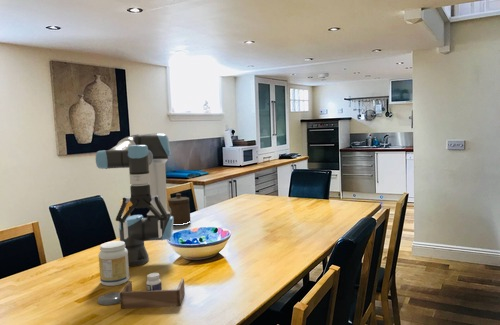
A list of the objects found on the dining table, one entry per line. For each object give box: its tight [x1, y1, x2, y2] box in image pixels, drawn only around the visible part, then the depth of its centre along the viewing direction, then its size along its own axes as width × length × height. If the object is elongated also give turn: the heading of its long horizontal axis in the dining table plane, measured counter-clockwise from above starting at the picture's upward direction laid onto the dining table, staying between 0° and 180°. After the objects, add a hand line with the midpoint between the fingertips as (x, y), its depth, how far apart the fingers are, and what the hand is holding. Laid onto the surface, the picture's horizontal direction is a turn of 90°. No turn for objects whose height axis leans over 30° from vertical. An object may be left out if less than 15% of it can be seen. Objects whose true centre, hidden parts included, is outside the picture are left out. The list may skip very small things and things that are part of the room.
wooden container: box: [167, 192, 191, 224], centre depth 281 cm, size 15×15×22 cm
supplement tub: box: [98, 240, 130, 287], centre depth 174 cm, size 12×12×17 cm
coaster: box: [97, 291, 121, 306], centre depth 156 cm, size 11×11×1 cm
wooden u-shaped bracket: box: [119, 278, 186, 310], centre depth 153 cm, size 12×22×6 cm, turn 91°
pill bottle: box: [145, 272, 163, 291], centre depth 154 cm, size 6×6×10 cm
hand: (143, 237), depth 157 cm, fingers open, 13 cm apart
